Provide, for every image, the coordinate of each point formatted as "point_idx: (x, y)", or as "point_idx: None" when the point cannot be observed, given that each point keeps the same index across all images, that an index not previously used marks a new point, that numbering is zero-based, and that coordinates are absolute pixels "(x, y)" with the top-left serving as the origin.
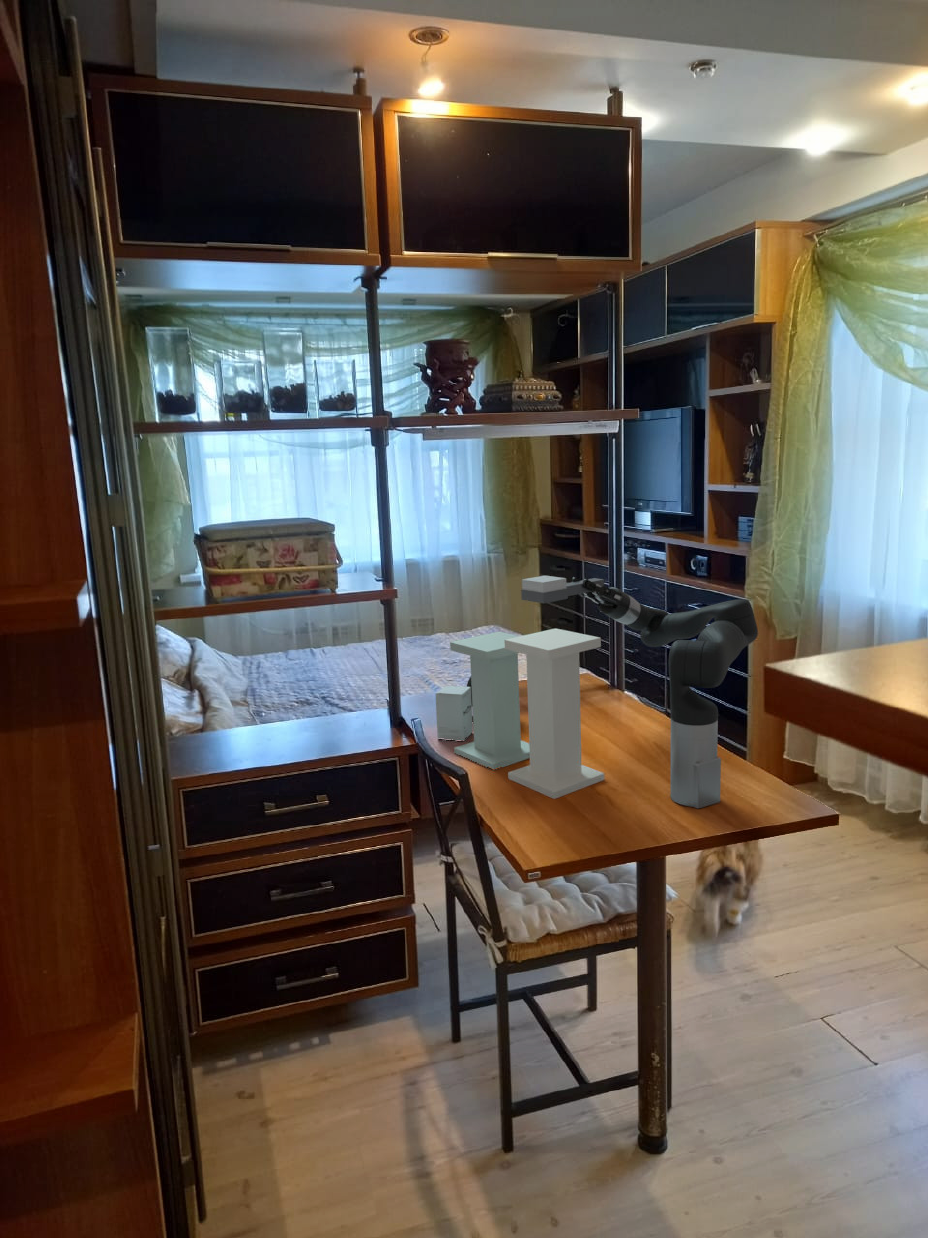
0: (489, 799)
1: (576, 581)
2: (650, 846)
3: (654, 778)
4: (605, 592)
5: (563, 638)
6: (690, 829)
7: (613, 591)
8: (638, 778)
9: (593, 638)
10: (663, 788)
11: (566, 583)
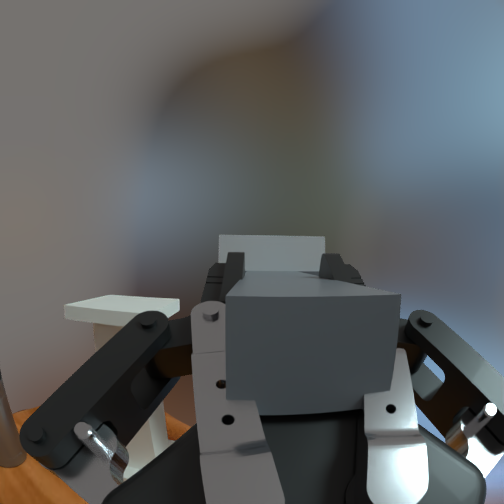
0: (175, 422)
1: (324, 277)
2: (39, 406)
3: (45, 485)
4: (193, 428)
5: (111, 303)
6: (14, 420)
7: (82, 378)
8: (62, 483)
9: (72, 304)
10: (34, 468)
11: (306, 274)
